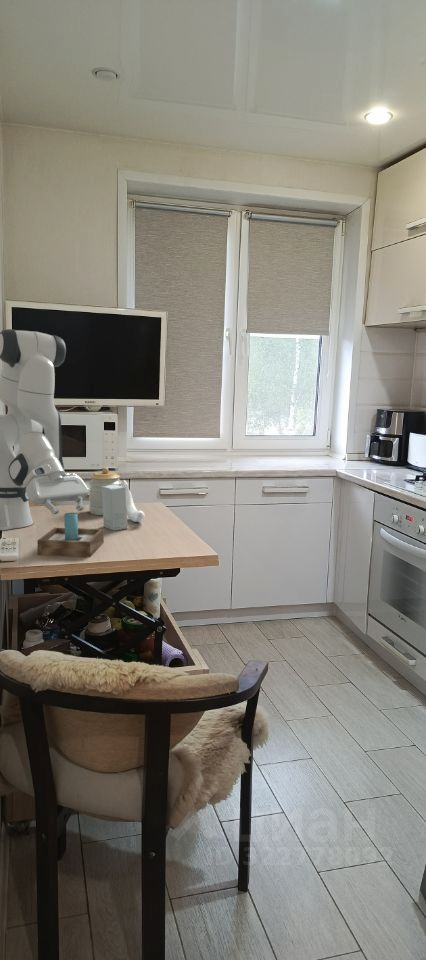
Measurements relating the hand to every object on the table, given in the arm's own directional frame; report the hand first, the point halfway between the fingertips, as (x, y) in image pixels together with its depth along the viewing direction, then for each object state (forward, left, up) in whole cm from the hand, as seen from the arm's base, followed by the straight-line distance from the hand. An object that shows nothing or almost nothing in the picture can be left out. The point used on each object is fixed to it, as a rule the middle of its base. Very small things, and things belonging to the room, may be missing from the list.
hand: (68, 511), depth 196 cm
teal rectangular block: (0, +2, -12) cm, 12 cm away
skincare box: (+7, +30, -12) cm, 33 cm away
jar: (-2, +54, -12) cm, 55 cm away
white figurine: (+12, +40, -12) cm, 43 cm away
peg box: (0, +2, -12) cm, 12 cm away
